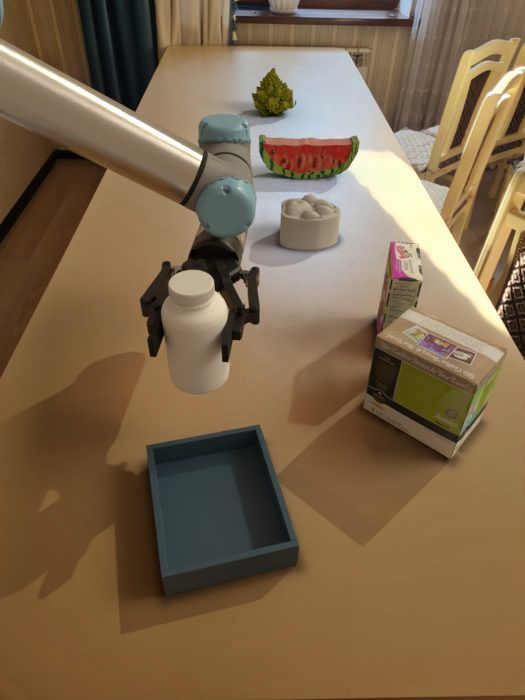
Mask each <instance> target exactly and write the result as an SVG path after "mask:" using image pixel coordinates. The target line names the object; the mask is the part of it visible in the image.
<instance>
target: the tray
mask: <svg viewBox="0 0 525 700" xmlns="http://www.w3.org/2000/svg"><path fill="white" fill-rule="evenodd" d="M145 449H146V456H147V457H146V458H147V466H148V473H149V475H148V476H149V482H150V491H151V499H152V509H153V517H154V526H155V533H156V534H155V536H156V541H157V542H156V543H157V551H158V559H159V568H160V577H161V582H162V586H163V590H164V594H165V597H168V596H173V595H177V594H182V593H186V592H190V591H194V590H197V589H201V588H207V587H210V586H214V585H218V584H223V583H227V582H230V581H235V580H239V579H243V578H248V577H252V576H256V575H260V574H264V573H268V572H272V571H276V570H281V569H285V568H289V567H293V566H297V565H298V562H299V561H298V560H299V552H300V543H299V540H298V537H297V534H296V530H295V527H294V525H293V521H292V518H291V515H290V512H289V509H288V506H287V504H286V500H285V497H284V494H283V491H282V489H281V484H280V482H279V479H278V476H277V472H276V470H275V466H274V464H273V460H272V458H271V455H270V452H269V448H268V445H267V441H266V439H265V436H264V433H263V429H262V426H261V424H259V423H258V424H254V425H249V426H248V425H247V426H243V427H238V428H232V429H226V430H221V431H216V432H211V433H205V434H199V435H195V436H189V437H183V438H179V439H173V440H166V441H162V442H157V443H151V444H147V445H145Z"/></svg>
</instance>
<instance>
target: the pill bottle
mask: <svg viewBox="0 0 525 700" xmlns="http://www.w3.org/2000/svg"><path fill="white" fill-rule="evenodd" d="M168 290H169V296H168V297H167V298H166V300H165V301H164V303H163V306H162V309H161V317H162V324H163V331H164V337H163V339H164V344H165V351H166V352H165V353H166V359H167V366H168V373H169V376H170V380H171V382H172V384H173V385H174V386H175V387H176V388H177V389H178V390H180V391H181V392H183V393H187V394H191V395H205V394H209V393H212V392H215V391H217V390H218V389H220V388H221V387H222V386H223V385H224V384H225V383H226V382H227V380H228V378H229V375H230V361H229V362H222V350H221V344H222V339H223V335H224V330H225V326H226V322H227V318H228V313H229V312H228V307H227V305H226V302H225V300H224V299H223V298H222V296H221V294H220V293H219V292H216V291H215V287H214V280H213V278H212V277H211V276H210V275H209V274H208V273H206V272H203V271H199V270H187V271H182V272H179V273H177V274H175V275H174V276H173V277H172V278H171V279H170V280H169V282H168Z"/></svg>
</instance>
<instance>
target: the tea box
mask: <svg viewBox="0 0 525 700" xmlns="http://www.w3.org/2000/svg"><path fill="white" fill-rule="evenodd" d="M508 350H509V349H508V348H506V347H504V346H503V345H500V344H498V343H496V342H493V341H491V340H488V339H486V338H485V337H482V336H480V335H477V334H475V333H473V332H470V331H468V330H467V329H464V328H462V327H459V326H457V325H455V324H453V323H451V322H449V321H446V320H444V319H442V318H439V317H437V316H435V315H433V314H431V313H428V312H426V311H423V310H421V309H418V308H417V307H416V308H415V307H412V306H411V307H410V308H409V309H408V310H407V311H405V312H404V313H403V314H402V315H401V316H399V317H398V318H397V319H396V320H395V321H394V322H392V323H391V324H390V325H389V326H388V327H386V328H385V329H384V330H383V331H382V332H381V333H379V334H378V335H377V334H376V336H375V342H374V347H373V352H372V357H371V363H370V368H369V373H368V379H367V384H366V390H365V395H364V401H363V409H365V410H367V412H370V413H371V414H373V415H374V416H377V417H378V418H380V419H382V420H384V421H385V422H386V423H388V424H390V425H392V426H393V427H395V428H397V429H398V430H400V431H403V432H404V433H406V434H407V435H409V436H410V437H412V438H413V439H415V440H417V441H419V442H420V443H422V444H424V445H426V446H427V447H429V448H431V449H432V450H434V451H436V452H437V453H439V454H441V455H442V456H444V457H446V458H448V459H450V460H451V459H453V457H454V456H455V454H456V453H457V452H458V450H459V448H461V446H462V445H463V443H464V442H465V441H466V439H467V438H468V437H469V435H470V434H471V433H472V432H473V430H475V428H476V427H477V425H478V424H479V423H480V421H481V419H482V416H483V415H484V412H485V410H486V408H487V405H488V403H489V401H490V398H491V396H492V393H493V390H494V387H495V385H496V382H497V380H498V378H499V374H500V373H501V369H502V367H503V364H504V362H505V360H506V357H507V354H508Z"/></svg>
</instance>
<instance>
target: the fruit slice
mask: <svg viewBox="0 0 525 700" xmlns="http://www.w3.org/2000/svg"><path fill="white" fill-rule="evenodd" d="M359 149H360V139H359V137H358V135H352V136H350V137H346V138H345V137H344V138H315V137H301V138H290V137H269V136H266V135H265V134H261V133H260V134H259V135H258V153H259V155H260V158H261V161H262V162H263V163H264V165H265V167H266V168H267V169H268V170H270V171H271V172H273V173H274V174H276V175H282V176H285V177H287V178H290V179H295V180H314V179H320V178H329V177H333V176H337V175H341V174H342V173H345V171H347V170H349V168H350V167H351V165H352V163H353V162H354V160H355V158H356V157H357V155H358V153H359Z"/></svg>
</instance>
